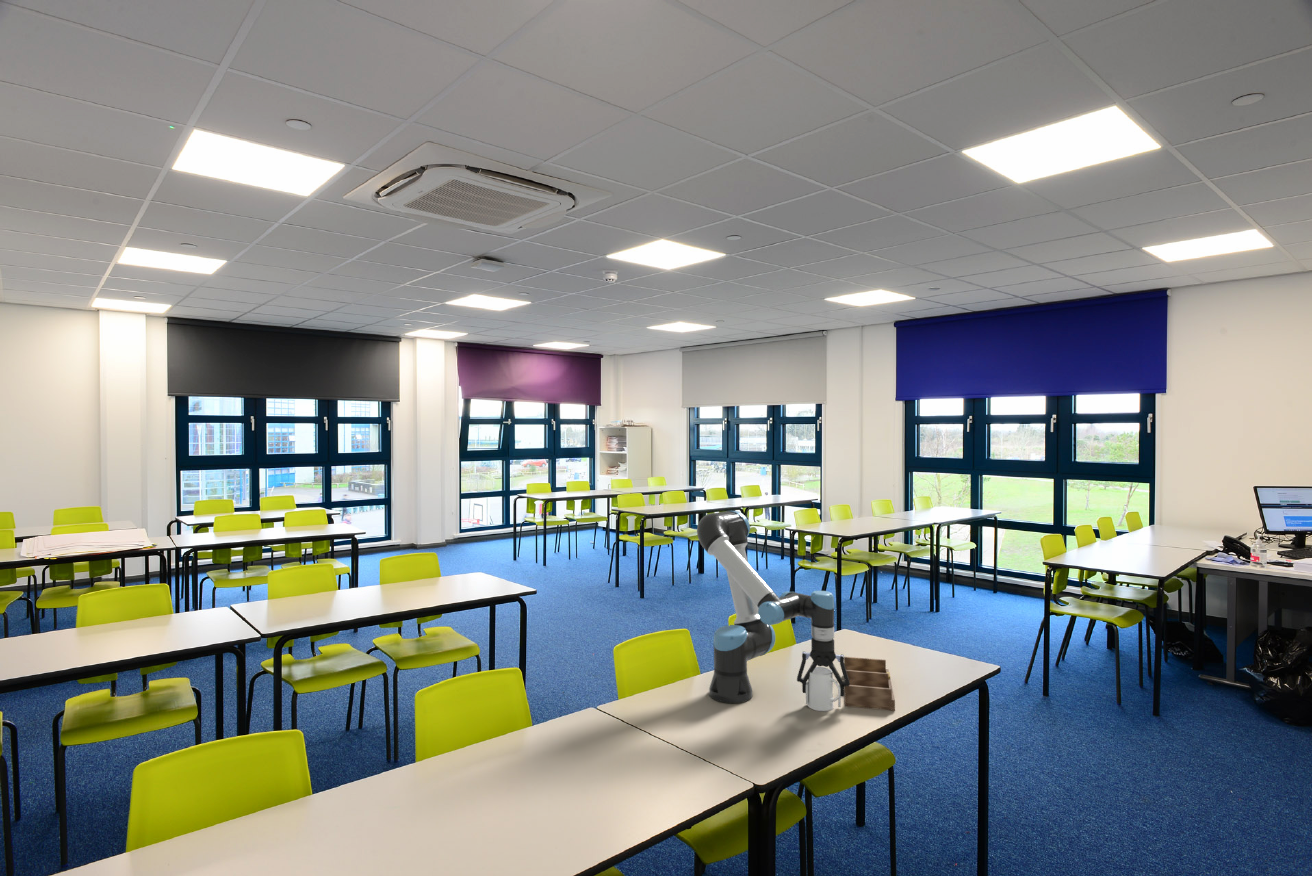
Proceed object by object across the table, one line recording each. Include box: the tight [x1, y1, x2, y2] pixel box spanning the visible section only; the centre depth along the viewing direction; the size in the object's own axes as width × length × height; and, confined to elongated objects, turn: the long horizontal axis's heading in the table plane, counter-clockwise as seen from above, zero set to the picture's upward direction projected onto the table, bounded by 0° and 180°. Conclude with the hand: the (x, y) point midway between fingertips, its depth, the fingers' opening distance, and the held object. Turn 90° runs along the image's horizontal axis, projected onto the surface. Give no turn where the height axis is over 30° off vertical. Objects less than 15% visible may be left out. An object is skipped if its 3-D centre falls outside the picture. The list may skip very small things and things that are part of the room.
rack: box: [843, 656, 896, 711], centre depth 238 cm, size 16×30×7 cm, turn 165°
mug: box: [807, 666, 840, 712], centre depth 224 cm, size 12×8×12 cm
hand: (823, 703), depth 225 cm, fingers closed on mug, 10 cm apart
